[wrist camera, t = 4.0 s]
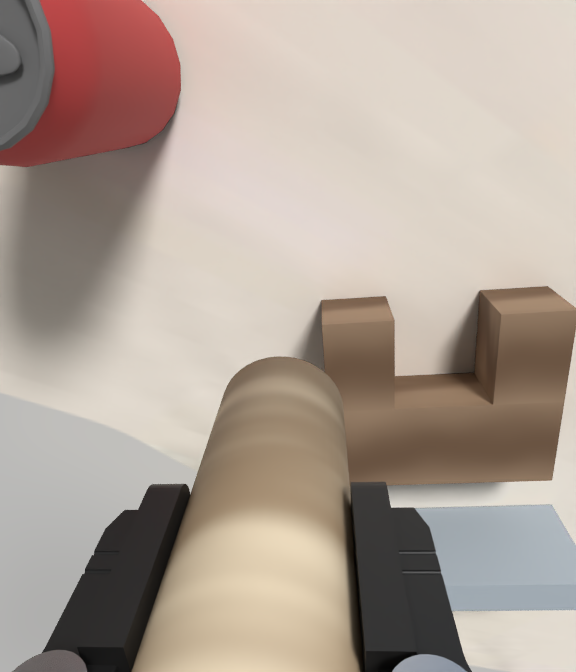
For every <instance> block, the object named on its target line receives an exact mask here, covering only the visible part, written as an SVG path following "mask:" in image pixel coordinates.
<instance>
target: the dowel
mask: <svg viewBox="0 0 576 672" xmlns="http://www.w3.org/2000/svg"><path fill="white" fill-rule="evenodd" d="M131 672H364V665H363V652H362V640H361V627H360V615H359V602H358V590H357V577H356V565H355V552H354V540H353V527H352V515H351V495H350V483H349V471H348V458H347V446H346V434H345V422H344V410H343V401H342V398H341V395H340V392H339V390H338V388H337V386H336V385H335V383H334V382H333V381H332V379H331V378H330V377H329V376H328V375H327V374H326V373H325V372H324V371H322V370H321V369H319V368H318V367H316V366H315V365H313V364H311V363H309V362H306V361H304V360H300V359H297V358H291V357H269V358H265V359H261V360H258V361H255V362H253V363H251V364H249V365H247V366H245V367H244V368H242V369H241V370H240V371H239V372H238V373H237V374H235V376H234V377H233V378H232V379H231V381H230V382H229V384H228V385H227V388H226V390H225V392H224V395H223V398H222V401H221V404H220V407H219V410H218V413H217V416H216V419H215V422H214V425H213V428H212V431H211V434H210V437H209V440H208V443H207V446H206V449H205V452H204V455H203V458H202V461H201V464H200V467H199V470H198V473H197V477H196V479H195V482H194V485H193V488H192V492H191V494H190V497H189V500H188V503H187V506H186V509H185V512H184V515H183V518H182V521H181V524H180V527H179V530H178V533H177V536H176V539H175V542H174V545H173V548H172V551H171V554H170V557H169V560H168V563H167V566H166V569H165V572H164V575H163V578H162V581H161V584H160V587H159V590H158V593H157V596H156V599H155V602H154V605H153V608H152V611H151V614H150V617H149V620H148V623H147V626H146V629H145V632H144V635H143V638H142V641H141V644H140V647H139V650H138V653H137V656H136V659H135V662H134V665H133V668H132V671H131Z"/></svg>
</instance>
